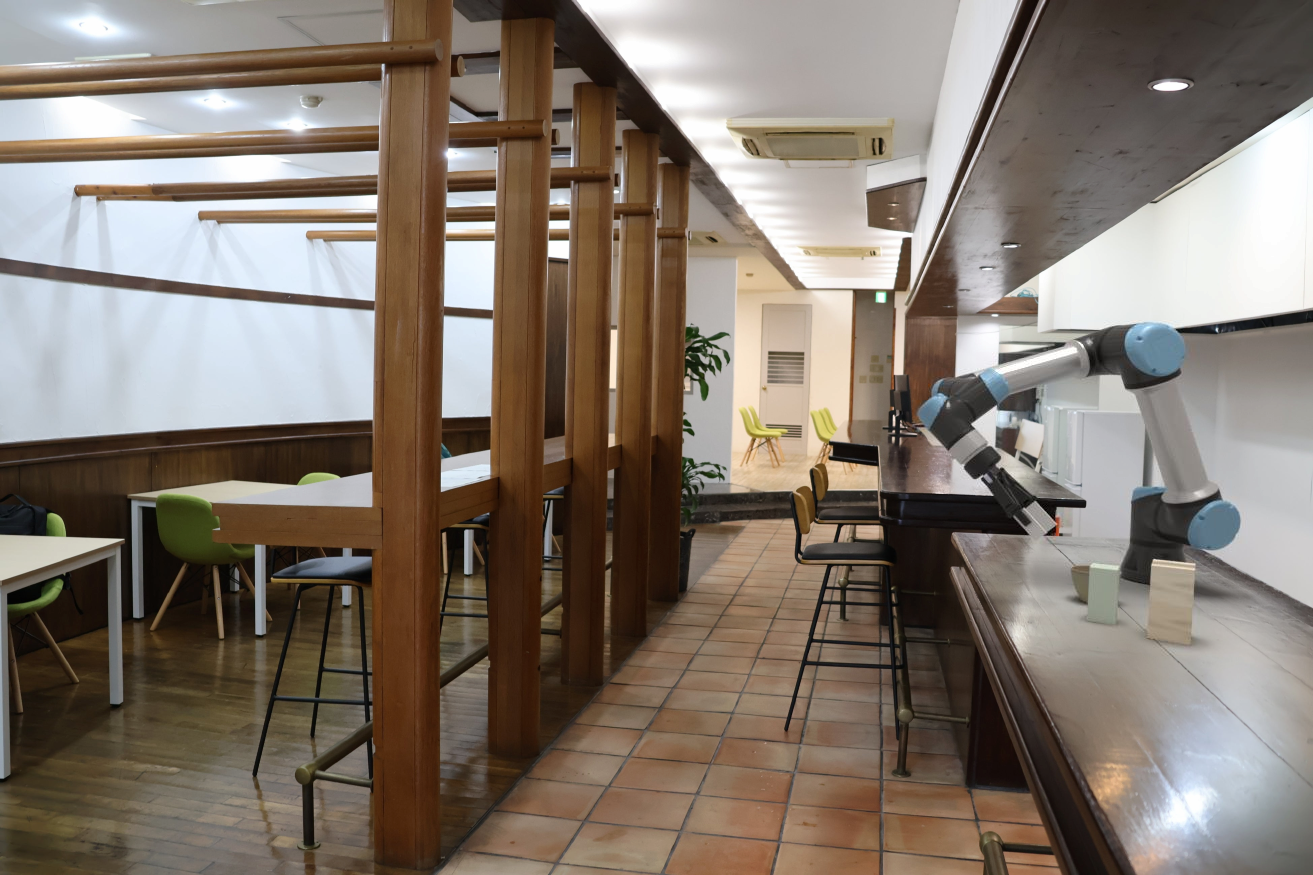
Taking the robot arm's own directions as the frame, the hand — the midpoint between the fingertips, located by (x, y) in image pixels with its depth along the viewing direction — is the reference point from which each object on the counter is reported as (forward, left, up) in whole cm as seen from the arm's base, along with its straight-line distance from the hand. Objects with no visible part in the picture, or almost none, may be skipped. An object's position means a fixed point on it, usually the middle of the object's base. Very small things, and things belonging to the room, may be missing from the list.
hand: (1046, 532), depth 184 cm
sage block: (0, +11, -17) cm, 20 cm away
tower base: (+6, +23, -17) cm, 29 cm away
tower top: (+6, +23, -10) cm, 26 cm away
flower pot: (-16, +8, -17) cm, 25 cm away
